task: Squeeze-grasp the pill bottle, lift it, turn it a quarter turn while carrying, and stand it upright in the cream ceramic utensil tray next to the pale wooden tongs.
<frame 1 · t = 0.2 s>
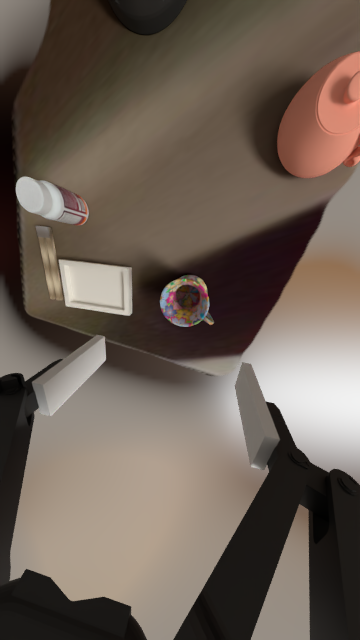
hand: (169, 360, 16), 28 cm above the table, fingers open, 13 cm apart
pink teapot: (314, 143, 29), on the table
tray: (99, 286, 45), on the table
pill bottle: (78, 211, 39), on the table
mug: (194, 295, 42), on the table
tongs: (52, 265, 45), on the table
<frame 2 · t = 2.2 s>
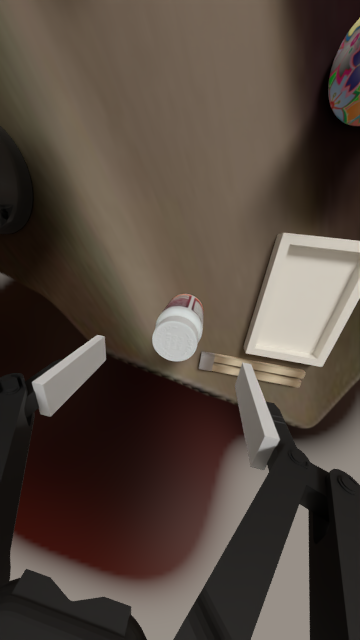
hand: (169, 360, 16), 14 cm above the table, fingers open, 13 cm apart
tray: (298, 303, 26), on the table
pill bottle: (185, 310, 29), on the table
tongs: (248, 367, 31), on the table
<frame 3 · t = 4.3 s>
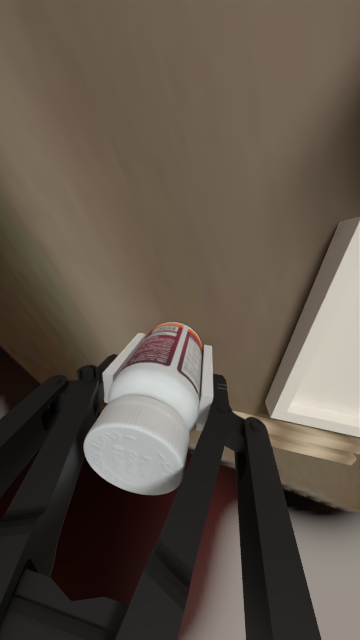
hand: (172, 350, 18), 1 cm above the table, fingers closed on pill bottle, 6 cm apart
pill bottle: (175, 345, 19), on the table, touching gripper
tongs: (271, 429, 21), on the table
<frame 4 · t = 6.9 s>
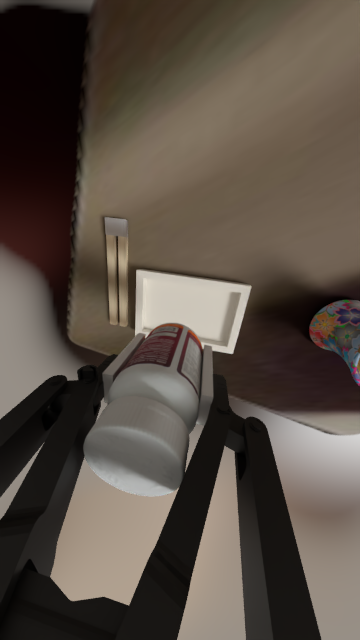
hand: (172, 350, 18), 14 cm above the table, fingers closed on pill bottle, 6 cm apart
tray: (188, 310, 30), on the table
pill bottle: (175, 346, 19), point 13 cm above the table, touching gripper
mug: (340, 328, 28), on the table
tongs: (119, 277, 30), on the table
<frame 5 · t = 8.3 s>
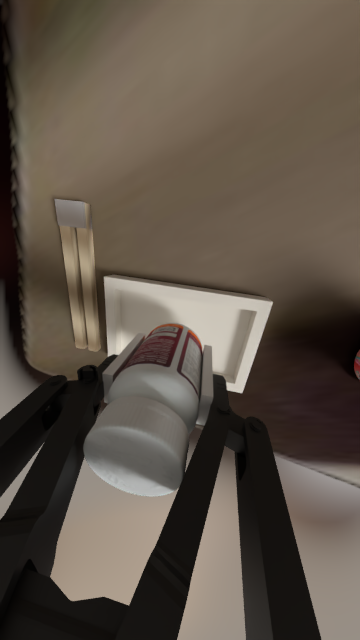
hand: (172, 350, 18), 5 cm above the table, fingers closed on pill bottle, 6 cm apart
tray: (180, 331, 22), on the table
pill bottle: (175, 346, 19), point 4 cm above the table, touching gripper
tongs: (84, 286, 22), on the table
when the fingers open (3 cm above the table, at t = 9.4 s): pill bottle drops 1 cm, resting on tray.
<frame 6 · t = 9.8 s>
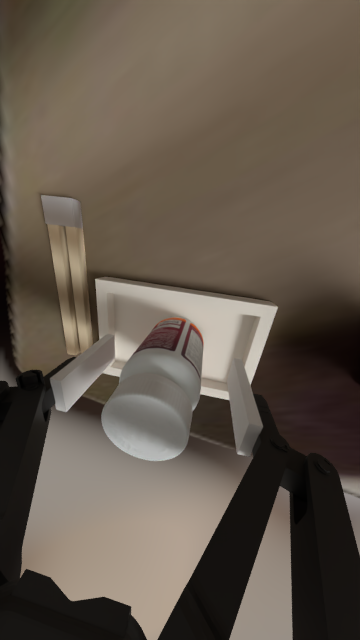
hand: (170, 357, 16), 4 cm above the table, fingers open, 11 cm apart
tray: (177, 337, 21), on the table
pill bottle: (178, 339, 20), resting on tray
tongs: (76, 288, 20), on the table
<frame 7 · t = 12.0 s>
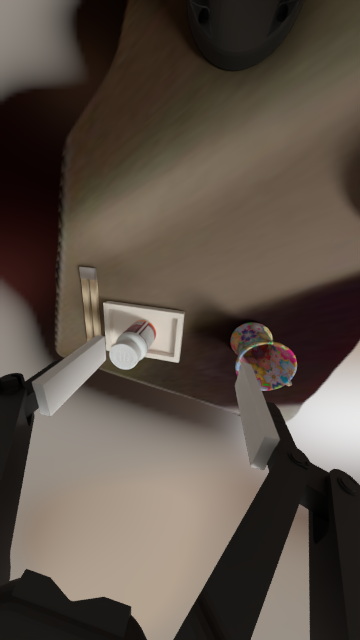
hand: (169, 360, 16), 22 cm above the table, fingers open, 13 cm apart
tray: (145, 330, 40), on the table
pill bottle: (144, 330, 40), resting on tray
mug: (254, 342, 38), on the table
tongs: (93, 306, 40), on the table
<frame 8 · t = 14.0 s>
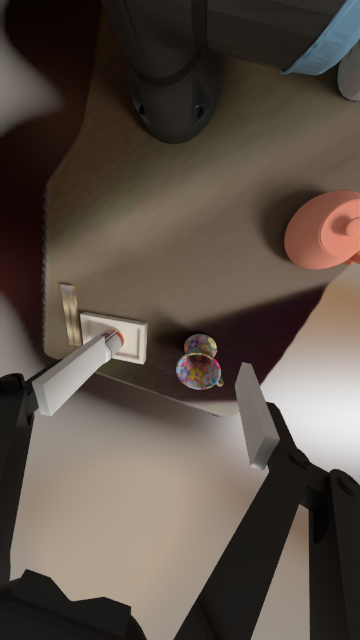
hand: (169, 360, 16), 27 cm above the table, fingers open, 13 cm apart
pink teapot: (316, 238, 33), on the table
tray: (116, 336, 48), on the table
pill bottle: (115, 337, 48), resting on tray
mug: (204, 349, 46), on the table
tongs: (73, 316, 48), on the table
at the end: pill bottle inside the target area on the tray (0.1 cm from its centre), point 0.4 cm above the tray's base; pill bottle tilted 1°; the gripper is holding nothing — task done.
